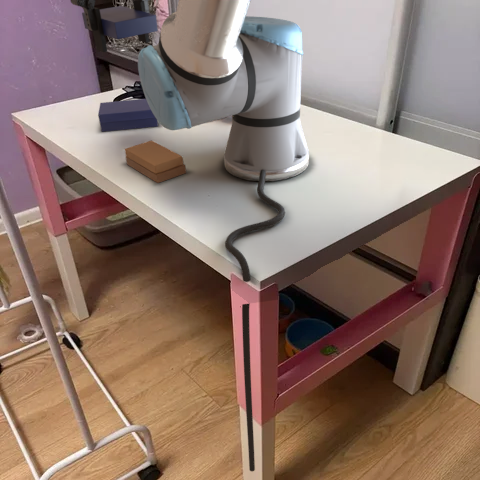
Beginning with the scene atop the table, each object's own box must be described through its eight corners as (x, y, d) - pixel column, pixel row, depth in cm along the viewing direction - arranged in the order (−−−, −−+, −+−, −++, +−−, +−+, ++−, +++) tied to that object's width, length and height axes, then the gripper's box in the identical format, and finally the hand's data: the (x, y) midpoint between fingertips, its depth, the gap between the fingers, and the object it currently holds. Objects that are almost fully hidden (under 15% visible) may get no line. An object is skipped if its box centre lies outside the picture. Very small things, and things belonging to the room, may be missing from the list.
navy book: (158, 31, 89) (155, 14, 87) (117, 39, 85) (114, 22, 83) (123, 21, 96) (121, 5, 94) (84, 28, 92) (81, 12, 91)
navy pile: (156, 114, 116) (154, 97, 114) (157, 126, 110) (155, 109, 108) (103, 119, 115) (100, 102, 113) (101, 131, 109) (98, 114, 107)
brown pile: (186, 172, 91) (184, 156, 89) (157, 183, 89) (155, 166, 87) (154, 155, 98) (151, 139, 96) (126, 164, 95) (123, 148, 93)
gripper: (142, -123, 84) (160, 32, 99) (19, -117, 75) (60, 53, 90) (167, -124, 80) (182, 38, 95) (40, -118, 70) (79, 61, 85)
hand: (123, 45), depth 92 cm, fingers closed on navy book, 8 cm apart
